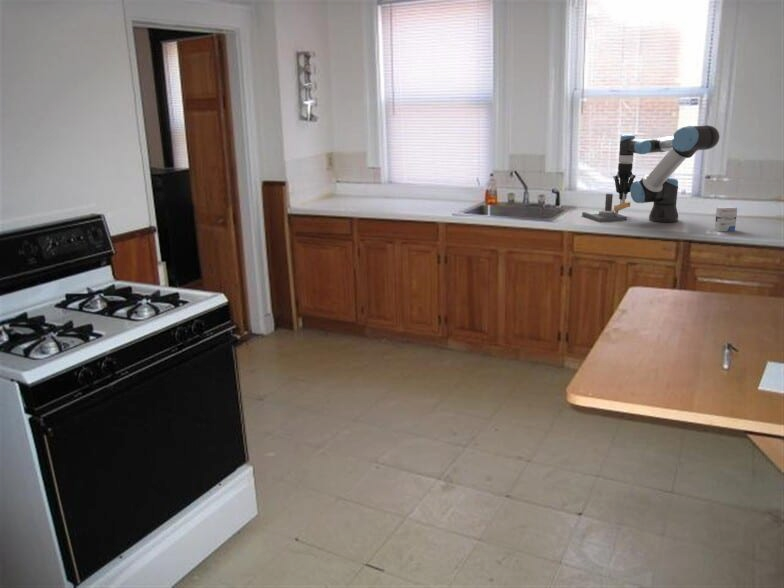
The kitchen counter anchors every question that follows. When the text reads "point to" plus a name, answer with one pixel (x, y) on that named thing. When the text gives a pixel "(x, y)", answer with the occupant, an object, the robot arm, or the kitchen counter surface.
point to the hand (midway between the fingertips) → (622, 205)
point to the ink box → (725, 218)
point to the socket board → (604, 216)
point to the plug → (608, 204)
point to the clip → (621, 206)
